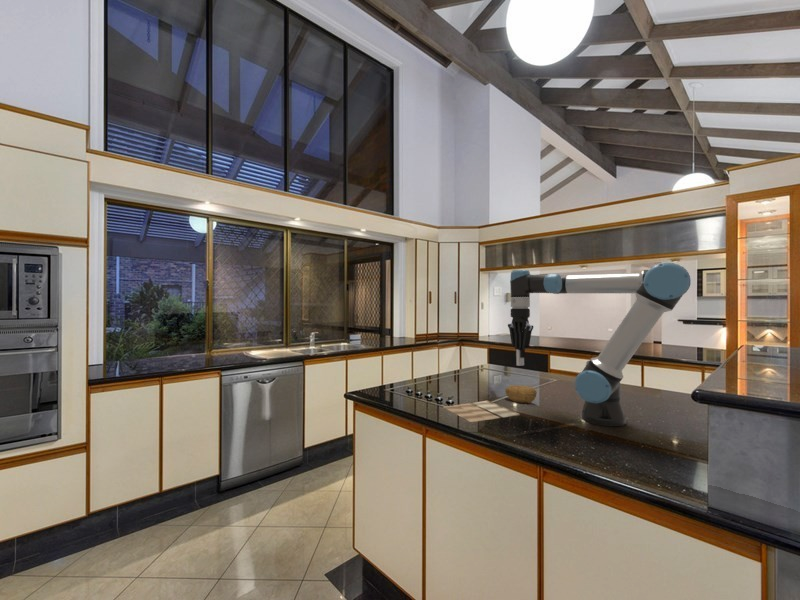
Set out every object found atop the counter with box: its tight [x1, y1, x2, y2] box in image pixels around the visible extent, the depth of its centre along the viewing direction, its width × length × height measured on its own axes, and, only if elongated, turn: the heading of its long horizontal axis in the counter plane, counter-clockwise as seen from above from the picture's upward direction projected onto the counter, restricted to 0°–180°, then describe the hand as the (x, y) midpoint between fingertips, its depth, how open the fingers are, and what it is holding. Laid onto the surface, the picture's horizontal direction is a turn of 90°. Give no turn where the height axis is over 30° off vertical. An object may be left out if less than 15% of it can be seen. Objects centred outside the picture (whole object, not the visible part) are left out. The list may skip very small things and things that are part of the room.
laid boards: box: [442, 403, 501, 423], centre depth 152 cm, size 22×14×1 cm, turn 22°
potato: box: [505, 384, 537, 404], centre depth 169 cm, size 10×14×8 cm
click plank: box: [471, 399, 521, 418], centre depth 157 cm, size 22×8×1 cm, turn 22°
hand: (520, 365), depth 152 cm, fingers closed
